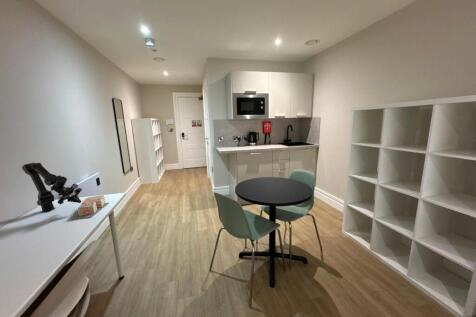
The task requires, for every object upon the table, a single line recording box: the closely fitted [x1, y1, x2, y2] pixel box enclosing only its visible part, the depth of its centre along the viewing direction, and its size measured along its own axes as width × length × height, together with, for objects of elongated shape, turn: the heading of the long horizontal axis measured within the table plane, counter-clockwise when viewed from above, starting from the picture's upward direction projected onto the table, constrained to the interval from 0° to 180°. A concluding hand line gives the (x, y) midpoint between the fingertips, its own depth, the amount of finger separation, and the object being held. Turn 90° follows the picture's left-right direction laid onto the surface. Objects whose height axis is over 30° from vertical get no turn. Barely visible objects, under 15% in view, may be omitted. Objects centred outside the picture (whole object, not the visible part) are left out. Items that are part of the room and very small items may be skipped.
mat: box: [71, 202, 110, 221], centre depth 152 cm, size 13×24×1 cm, turn 5°
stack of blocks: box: [77, 194, 106, 216], centre depth 154 cm, size 21×6×12 cm
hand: (80, 202), depth 150 cm, fingers closed
